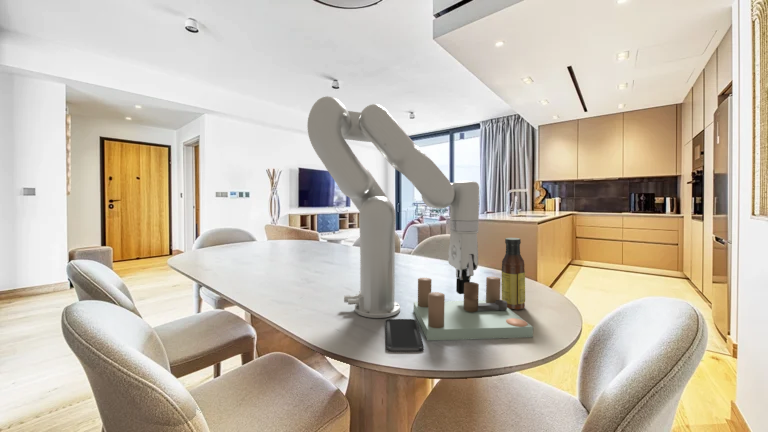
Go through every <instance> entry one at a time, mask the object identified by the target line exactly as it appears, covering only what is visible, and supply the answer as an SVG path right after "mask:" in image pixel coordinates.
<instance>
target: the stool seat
mask: <svg viewBox="0 0 768 432" xmlns="http://www.w3.org/2000/svg"><path fill="white" fill-rule="evenodd" d="M445 298H446V297H445V294H444V293H442V292H437V291H432V279H431V278H430V277H419V278H417V301H413V313H414V315H415V317H416V318H417V322H418V323H419V326H420V327H421V330H422V332H423V334H424V335H425V339H426V340H427V341H451V340H452V341H456V340H457V341H458V340H483V339H484V340H486V339H490V340H491V339H492V340H493V339H513V338H514V339H517V338H518V339H520V338H521V339H522V338H533V336H534V335H533V333H534V326H533V325H532V324H530V323H529V322H527V321H526V320H524V319H523V317H521V316H520V315H518V314H517V313H515V312H514V311H513V310H512V309H509V308H507V310H504V311H503V310H478V311H476V312H469V311H466V310H464V300H452V301H451V300H450V301H449V300H448V301H446V299H445ZM496 300H501V277H497V276H486V283H485V300H478V303H495V301H496Z"/></svg>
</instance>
